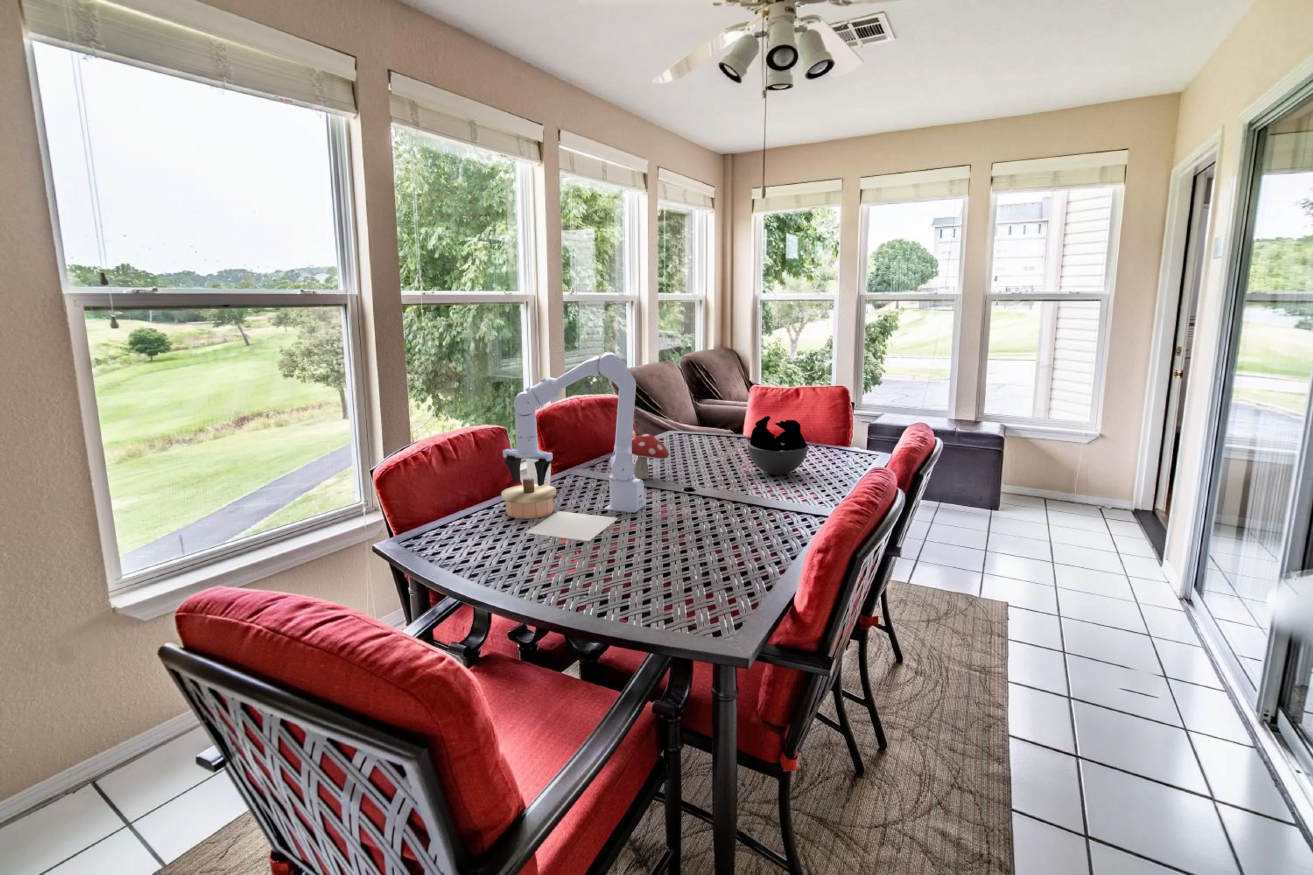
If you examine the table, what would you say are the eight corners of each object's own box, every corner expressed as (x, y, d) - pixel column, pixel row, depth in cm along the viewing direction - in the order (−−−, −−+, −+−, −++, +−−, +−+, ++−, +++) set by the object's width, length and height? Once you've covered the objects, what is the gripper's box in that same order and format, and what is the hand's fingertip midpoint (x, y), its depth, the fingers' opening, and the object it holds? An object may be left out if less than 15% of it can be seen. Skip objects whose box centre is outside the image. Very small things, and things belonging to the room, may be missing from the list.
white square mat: (618, 519, 176) (618, 518, 176) (588, 542, 160) (588, 541, 160) (559, 512, 182) (559, 511, 182) (524, 534, 166) (524, 532, 166)
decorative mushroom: (640, 469, 227) (640, 427, 224) (678, 476, 218) (678, 432, 215) (611, 480, 215) (610, 435, 212) (650, 487, 206) (650, 441, 202)
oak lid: (565, 489, 187) (564, 474, 186) (541, 505, 173) (540, 489, 172) (518, 485, 191) (517, 470, 190) (491, 500, 177) (490, 484, 176)
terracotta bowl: (562, 507, 187) (561, 490, 186) (538, 521, 175) (538, 504, 174) (522, 502, 191) (521, 486, 190) (497, 516, 179) (496, 499, 178)
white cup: (556, 483, 211) (555, 453, 209) (542, 490, 204) (541, 459, 202) (536, 481, 214) (535, 451, 212) (522, 487, 207) (520, 456, 205)
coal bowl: (812, 481, 211) (815, 424, 207) (750, 481, 212) (752, 424, 208) (800, 466, 231) (802, 413, 227) (743, 466, 231) (744, 414, 227)
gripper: (495, 437, 177) (498, 485, 180) (542, 440, 172) (544, 490, 175) (509, 432, 184) (512, 478, 187) (555, 435, 179) (557, 483, 182)
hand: (528, 483), depth 181 cm, fingers open, 7 cm apart
